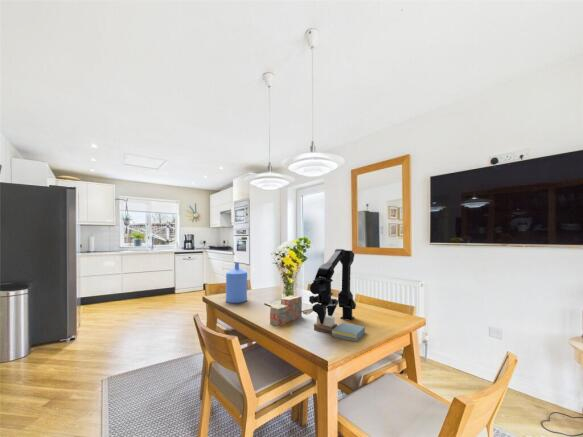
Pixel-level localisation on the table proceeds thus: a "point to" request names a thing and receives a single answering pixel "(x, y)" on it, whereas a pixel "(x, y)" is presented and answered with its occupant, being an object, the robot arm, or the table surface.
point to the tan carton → (319, 321)
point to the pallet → (324, 328)
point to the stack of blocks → (286, 310)
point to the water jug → (236, 285)
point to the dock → (348, 331)
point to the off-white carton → (329, 321)
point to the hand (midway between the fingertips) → (325, 321)
